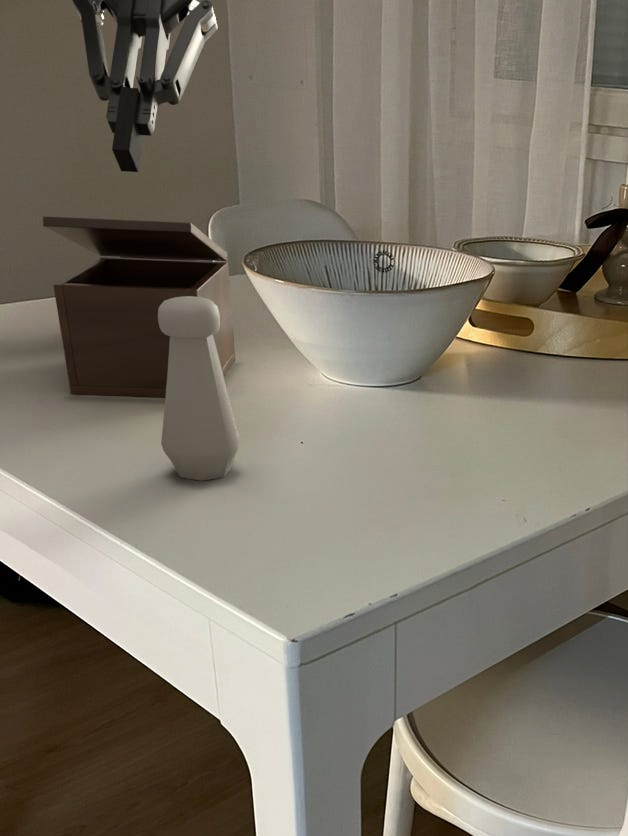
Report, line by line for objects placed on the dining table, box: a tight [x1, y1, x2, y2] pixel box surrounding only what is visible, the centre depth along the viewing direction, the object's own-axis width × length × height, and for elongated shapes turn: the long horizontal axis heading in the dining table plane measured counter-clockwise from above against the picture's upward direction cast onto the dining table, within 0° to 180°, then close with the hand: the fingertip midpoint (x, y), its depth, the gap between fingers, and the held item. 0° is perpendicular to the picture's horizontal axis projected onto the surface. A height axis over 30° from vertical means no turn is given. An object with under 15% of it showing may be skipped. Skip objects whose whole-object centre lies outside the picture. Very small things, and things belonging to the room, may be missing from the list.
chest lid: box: [42, 216, 228, 262], centre depth 95 cm, size 14×13×1 cm
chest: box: [53, 256, 236, 398], centre depth 99 cm, size 14×13×10 cm
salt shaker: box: [158, 296, 240, 482], centre depth 77 cm, size 6×6×13 cm
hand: (125, 160), depth 90 cm, fingers closed
